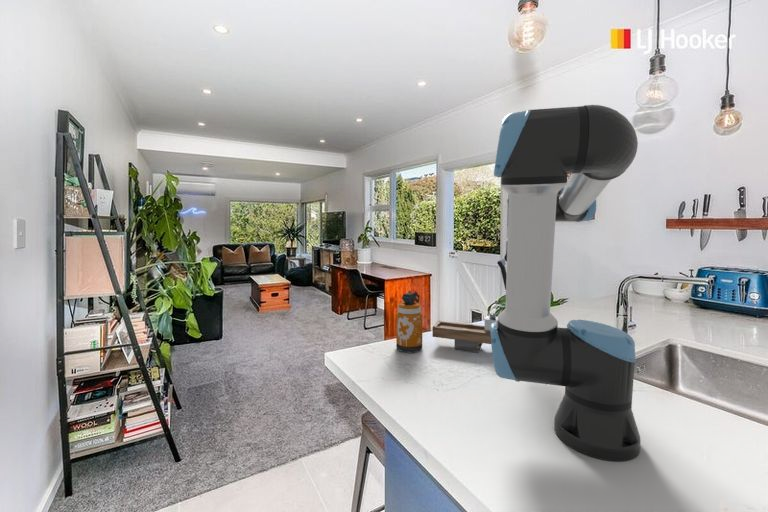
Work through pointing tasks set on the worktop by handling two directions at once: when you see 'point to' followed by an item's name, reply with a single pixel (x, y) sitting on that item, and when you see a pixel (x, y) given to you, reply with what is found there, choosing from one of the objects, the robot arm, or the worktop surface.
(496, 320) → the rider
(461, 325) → the beam
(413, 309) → the canister
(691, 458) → the worktop surface
